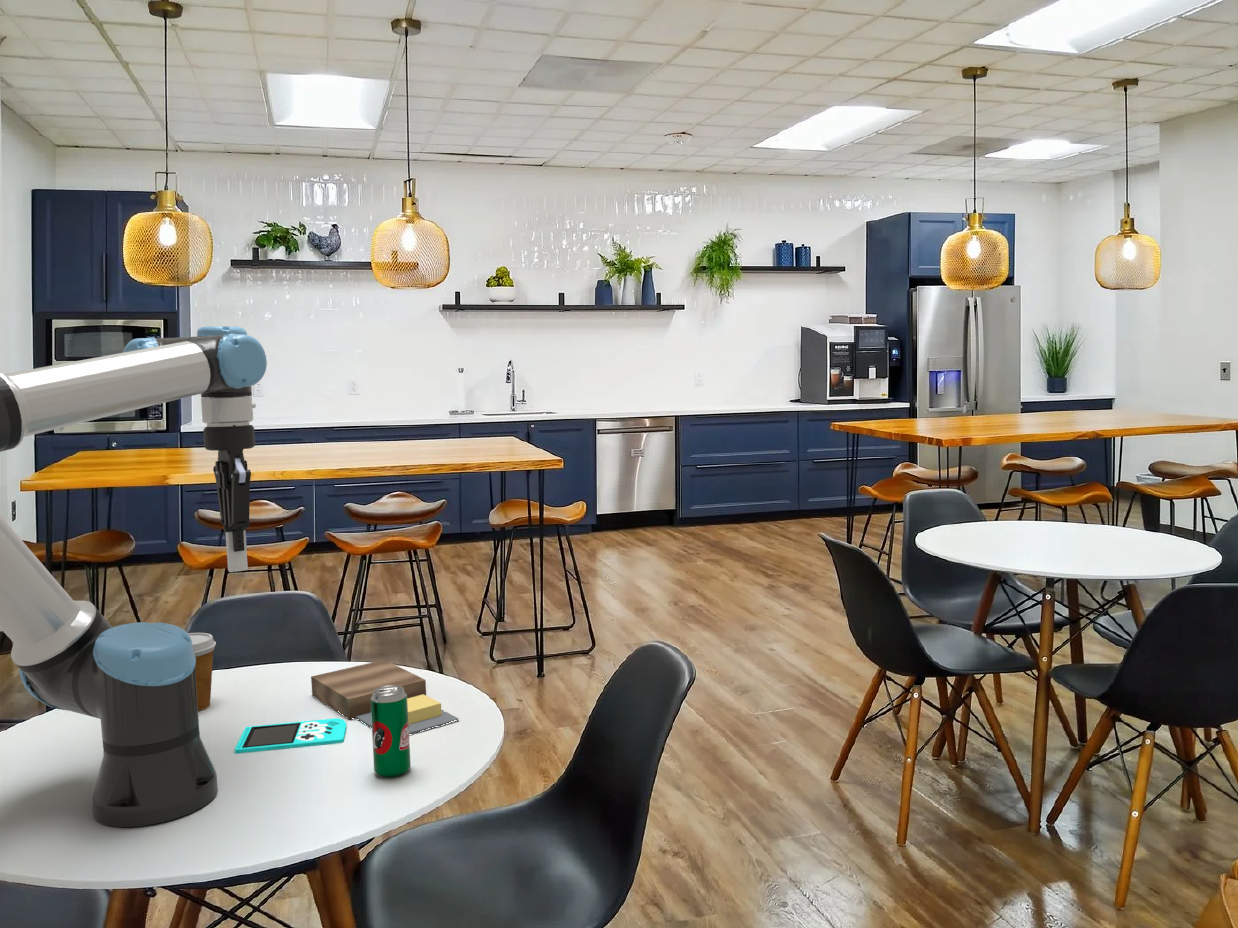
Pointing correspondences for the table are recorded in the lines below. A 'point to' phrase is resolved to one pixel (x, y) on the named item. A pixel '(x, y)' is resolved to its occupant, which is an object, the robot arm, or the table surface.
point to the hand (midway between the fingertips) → (237, 570)
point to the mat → (419, 725)
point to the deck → (363, 686)
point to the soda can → (390, 731)
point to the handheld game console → (291, 735)
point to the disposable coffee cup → (203, 666)
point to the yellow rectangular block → (422, 708)
